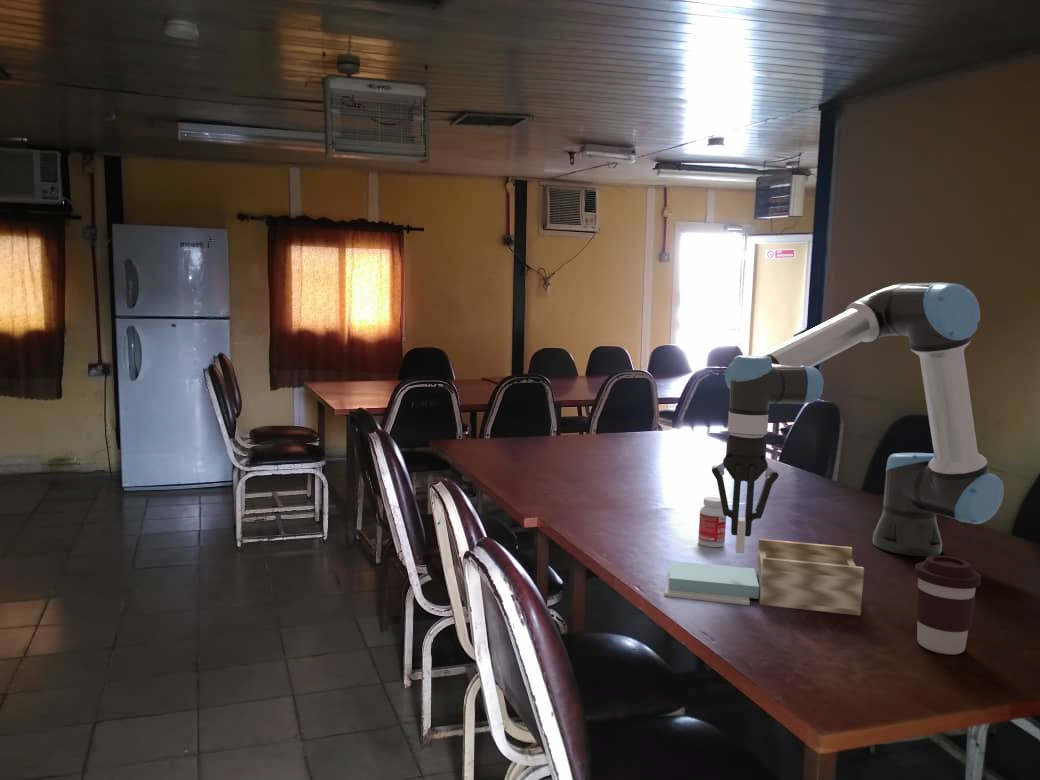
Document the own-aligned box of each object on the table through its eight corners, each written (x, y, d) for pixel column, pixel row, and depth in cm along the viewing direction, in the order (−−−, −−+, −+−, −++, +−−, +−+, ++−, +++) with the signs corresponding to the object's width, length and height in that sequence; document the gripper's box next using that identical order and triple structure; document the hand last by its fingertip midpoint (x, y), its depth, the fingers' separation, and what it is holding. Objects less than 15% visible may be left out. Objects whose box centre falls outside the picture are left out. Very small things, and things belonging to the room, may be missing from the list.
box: (848, 590, 167) (851, 547, 166) (860, 615, 153) (864, 568, 152) (756, 580, 171) (758, 538, 170) (760, 604, 157) (763, 558, 156)
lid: (753, 579, 169) (754, 568, 169) (758, 598, 158) (759, 586, 158) (669, 571, 173) (670, 560, 172) (668, 590, 162) (669, 578, 161)
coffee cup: (952, 635, 145) (960, 552, 144) (986, 659, 135) (995, 571, 134) (897, 634, 145) (904, 551, 143) (927, 658, 135) (935, 570, 133)
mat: (745, 578, 172) (745, 575, 172) (749, 605, 156) (749, 602, 156) (668, 570, 176) (668, 567, 175) (664, 595, 160) (664, 593, 160)
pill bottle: (720, 549, 192) (723, 503, 190) (694, 545, 195) (697, 499, 193) (727, 543, 197) (730, 498, 196) (702, 539, 200) (705, 494, 199)
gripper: (780, 433, 163) (772, 549, 166) (712, 429, 166) (706, 542, 169) (783, 439, 156) (775, 560, 159) (713, 435, 159) (706, 553, 162)
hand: (739, 551), depth 164 cm, fingers closed
